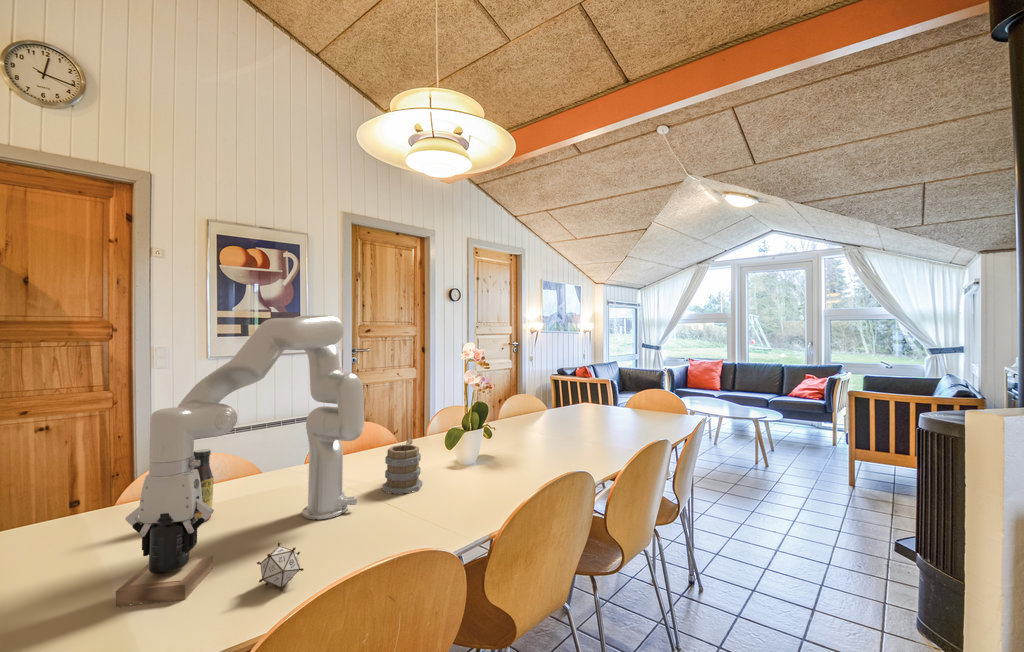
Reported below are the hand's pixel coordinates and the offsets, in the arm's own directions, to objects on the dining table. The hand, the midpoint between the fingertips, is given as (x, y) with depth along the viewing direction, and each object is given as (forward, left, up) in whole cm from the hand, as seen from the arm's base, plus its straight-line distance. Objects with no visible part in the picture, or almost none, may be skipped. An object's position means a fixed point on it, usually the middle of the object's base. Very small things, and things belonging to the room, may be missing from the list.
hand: (169, 550), depth 93 cm
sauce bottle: (+10, -36, -8) cm, 38 cm away
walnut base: (0, 0, -7) cm, 7 cm away
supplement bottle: (0, 0, -3) cm, 3 cm away
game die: (-23, +4, -8) cm, 24 cm away
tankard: (-47, -57, -8) cm, 74 cm away
